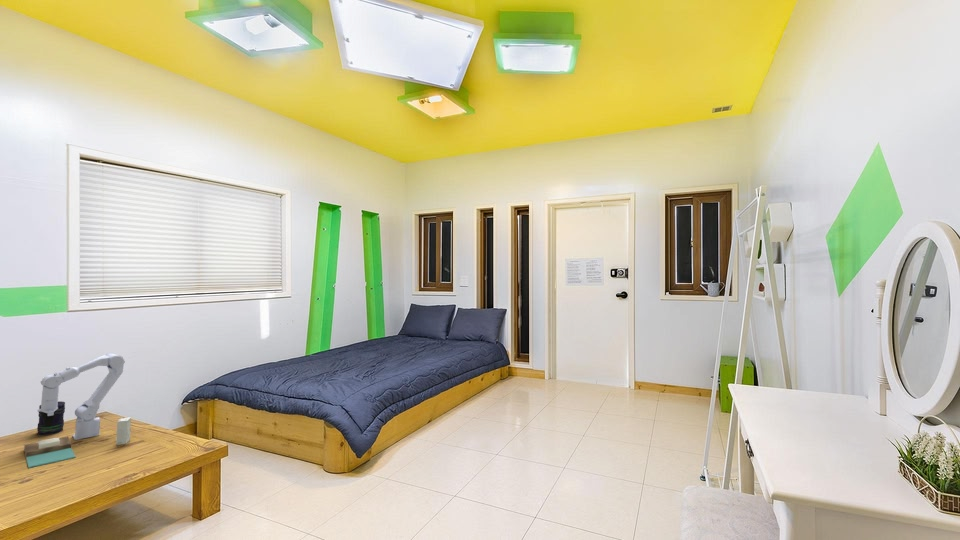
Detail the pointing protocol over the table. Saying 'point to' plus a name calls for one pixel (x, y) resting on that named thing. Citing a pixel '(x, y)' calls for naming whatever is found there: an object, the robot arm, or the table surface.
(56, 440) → the ceramic tile
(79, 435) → the robot arm
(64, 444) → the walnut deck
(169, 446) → the table surface
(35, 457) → the teal mat
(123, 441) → the skincare box
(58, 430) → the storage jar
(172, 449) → the table surface
